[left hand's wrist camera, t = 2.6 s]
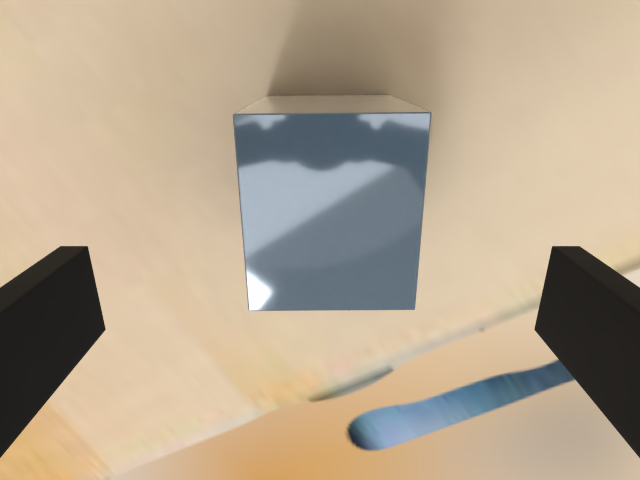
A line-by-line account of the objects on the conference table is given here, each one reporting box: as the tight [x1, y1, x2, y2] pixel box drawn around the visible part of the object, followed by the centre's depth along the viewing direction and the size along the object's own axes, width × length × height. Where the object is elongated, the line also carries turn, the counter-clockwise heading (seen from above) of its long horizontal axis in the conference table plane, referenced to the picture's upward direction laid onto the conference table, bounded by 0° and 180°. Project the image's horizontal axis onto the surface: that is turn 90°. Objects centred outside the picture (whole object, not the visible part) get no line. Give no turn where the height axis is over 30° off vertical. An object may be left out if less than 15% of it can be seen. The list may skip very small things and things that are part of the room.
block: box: [233, 95, 431, 311], centre depth 24 cm, size 8×9×11 cm
